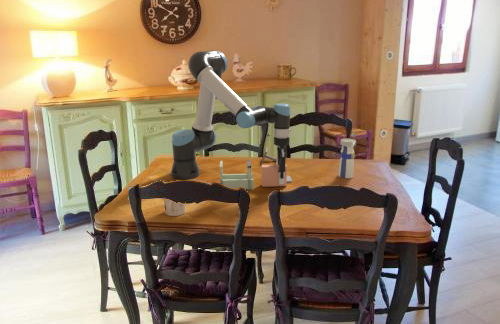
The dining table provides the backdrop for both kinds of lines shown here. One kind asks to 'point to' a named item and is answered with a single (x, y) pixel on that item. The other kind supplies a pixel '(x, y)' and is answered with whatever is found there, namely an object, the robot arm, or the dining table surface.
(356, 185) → the dining table surface
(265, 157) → the toilet paper hanger
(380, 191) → the dining table surface
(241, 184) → the dispenser
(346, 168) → the water bottle
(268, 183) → the pink cube
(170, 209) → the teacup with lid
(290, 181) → the tray
